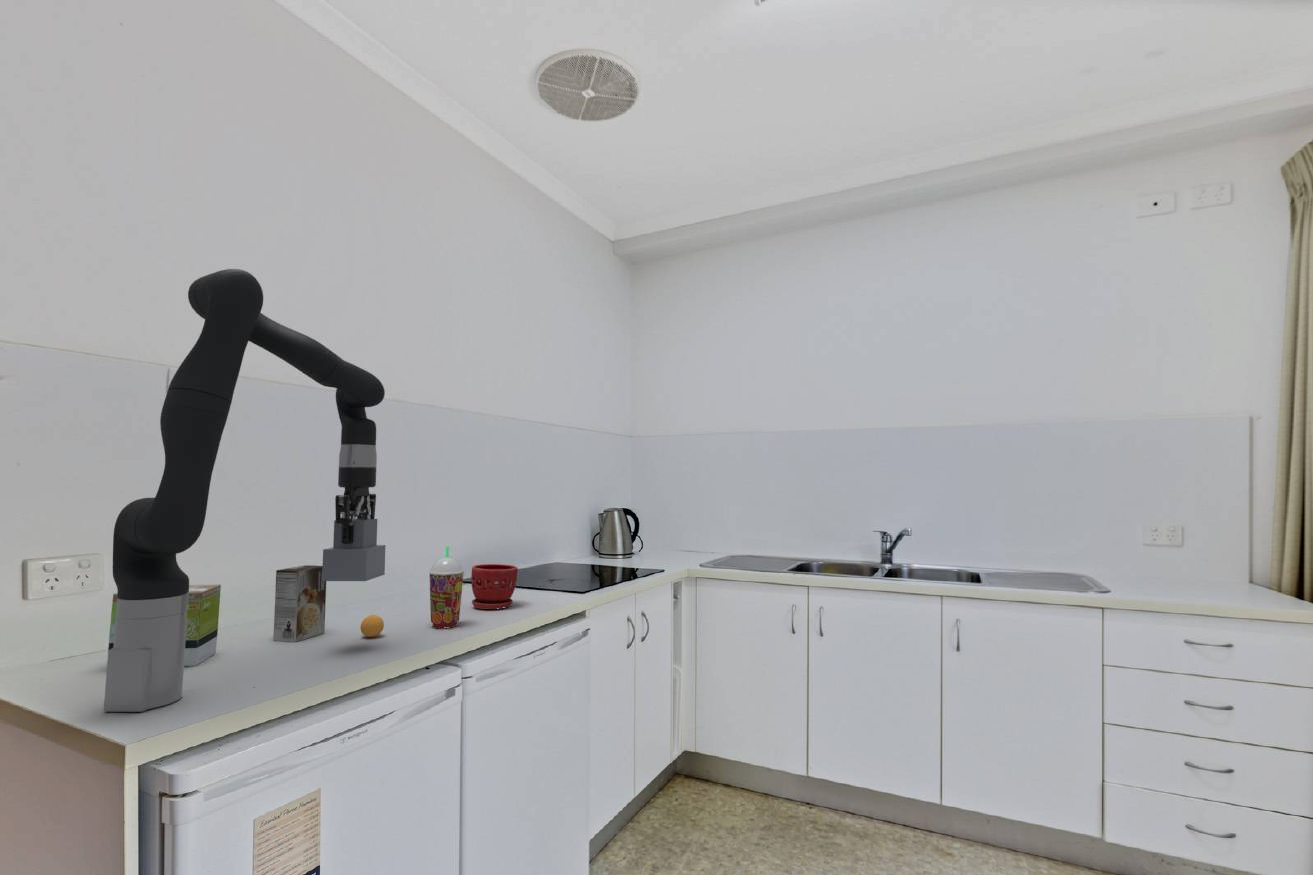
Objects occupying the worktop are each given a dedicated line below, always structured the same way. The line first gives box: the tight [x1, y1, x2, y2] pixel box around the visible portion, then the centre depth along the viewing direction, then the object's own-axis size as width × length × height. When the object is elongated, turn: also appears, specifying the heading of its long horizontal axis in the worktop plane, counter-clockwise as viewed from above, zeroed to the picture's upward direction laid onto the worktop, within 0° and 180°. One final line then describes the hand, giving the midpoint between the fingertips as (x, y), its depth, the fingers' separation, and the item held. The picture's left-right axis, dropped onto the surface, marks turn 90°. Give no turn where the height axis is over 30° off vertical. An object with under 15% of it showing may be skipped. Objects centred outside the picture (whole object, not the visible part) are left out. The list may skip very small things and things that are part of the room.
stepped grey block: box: [321, 518, 387, 582], centre depth 136 cm, size 9×9×13 cm
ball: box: [360, 614, 385, 638], centre depth 146 cm, size 5×5×5 cm
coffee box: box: [272, 564, 327, 643], centre depth 146 cm, size 9×6×16 cm
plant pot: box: [470, 563, 518, 610], centre depth 183 cm, size 13×13×12 cm
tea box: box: [107, 584, 222, 668], centre depth 125 cm, size 15×10×15 cm, turn 105°
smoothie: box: [428, 545, 465, 629], centre depth 158 cm, size 8×8×20 cm
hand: (355, 541), depth 136 cm, fingers closed on stepped grey block, 6 cm apart
